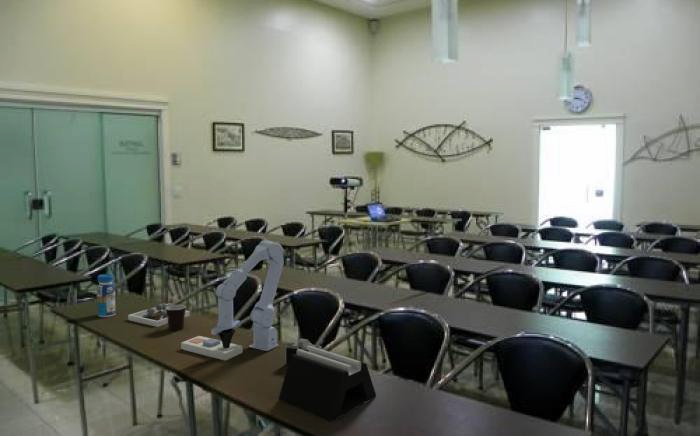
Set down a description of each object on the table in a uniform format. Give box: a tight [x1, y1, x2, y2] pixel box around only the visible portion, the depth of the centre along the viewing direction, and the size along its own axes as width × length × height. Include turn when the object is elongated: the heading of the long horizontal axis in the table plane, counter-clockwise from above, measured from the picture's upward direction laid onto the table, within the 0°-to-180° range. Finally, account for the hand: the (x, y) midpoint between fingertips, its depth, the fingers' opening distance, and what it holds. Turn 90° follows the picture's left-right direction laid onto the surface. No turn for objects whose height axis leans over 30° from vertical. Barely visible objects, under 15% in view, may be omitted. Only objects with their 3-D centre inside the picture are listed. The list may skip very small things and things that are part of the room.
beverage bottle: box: [96, 273, 117, 318], centre depth 270 cm, size 8×8×20 cm
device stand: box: [278, 345, 377, 422], centre depth 179 cm, size 22×22×15 cm
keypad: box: [180, 335, 244, 361], centre depth 222 cm, size 24×10×3 cm, turn 60°
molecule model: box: [143, 302, 172, 320], centre depth 268 cm, size 15×9×11 cm
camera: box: [284, 338, 323, 367], centre depth 207 cm, size 15×7×10 cm, turn 72°
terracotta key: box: [189, 337, 206, 344], centre depth 226 cm, size 5×5×2 cm
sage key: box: [218, 346, 235, 351], centre depth 218 cm, size 5×5×2 cm
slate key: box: [203, 337, 221, 347], centre depth 222 cm, size 5×5×2 cm
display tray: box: [127, 306, 191, 328], centre depth 266 cm, size 20×20×2 cm
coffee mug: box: [166, 304, 187, 332], centre depth 251 cm, size 12×9×10 cm
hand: (226, 347), depth 218 cm, fingers closed, pressing on sage key
